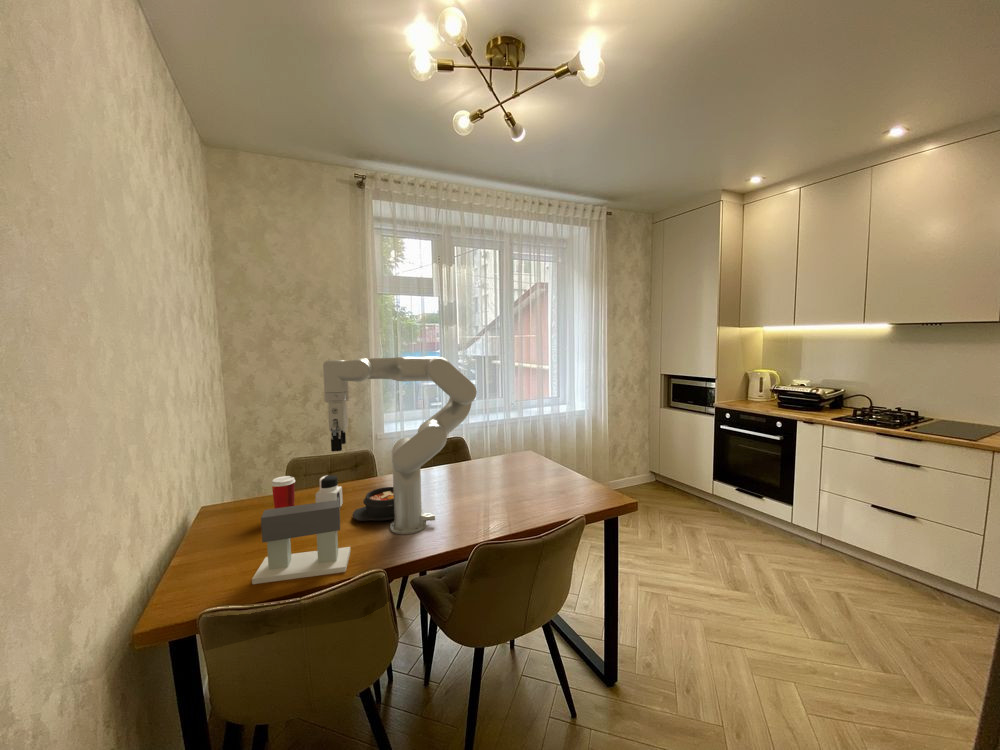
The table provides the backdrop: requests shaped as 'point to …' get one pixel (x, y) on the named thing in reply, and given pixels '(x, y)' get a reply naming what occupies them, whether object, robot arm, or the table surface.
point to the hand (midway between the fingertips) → (338, 447)
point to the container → (329, 490)
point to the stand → (302, 560)
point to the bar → (300, 520)
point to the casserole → (377, 506)
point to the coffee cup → (283, 491)
